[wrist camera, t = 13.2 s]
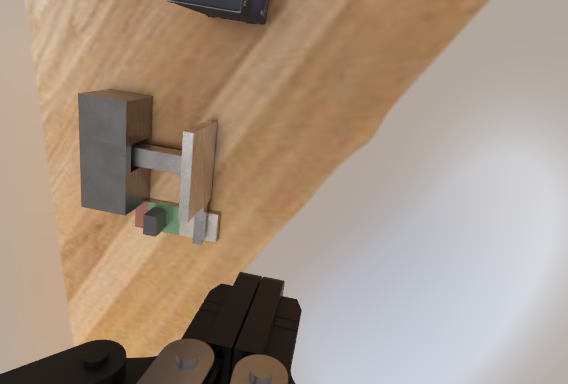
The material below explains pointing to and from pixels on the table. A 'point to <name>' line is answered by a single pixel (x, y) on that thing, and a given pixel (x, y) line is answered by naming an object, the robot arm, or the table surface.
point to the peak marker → (153, 221)
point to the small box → (229, 9)
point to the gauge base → (123, 160)
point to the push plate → (186, 171)
